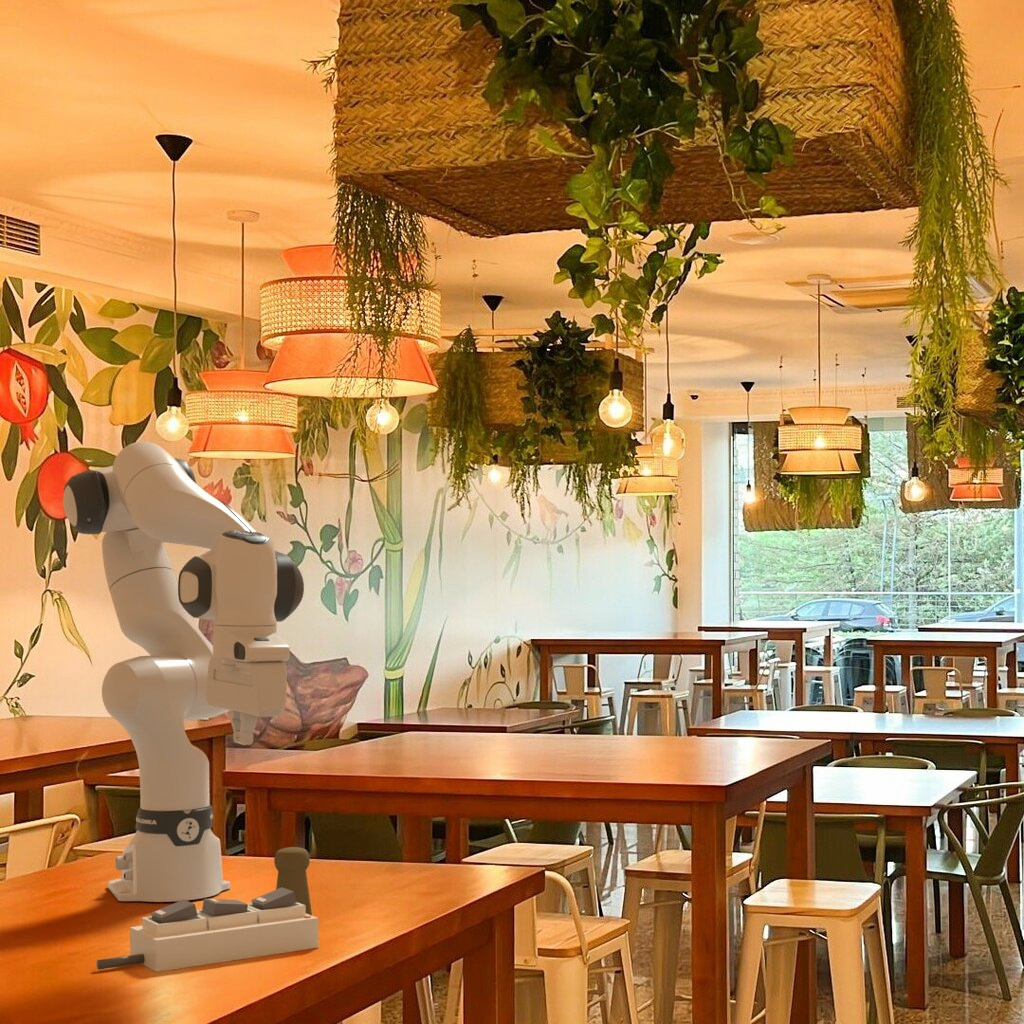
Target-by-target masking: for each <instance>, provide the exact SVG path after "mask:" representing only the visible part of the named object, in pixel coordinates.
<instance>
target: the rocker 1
mask: <svg viewBox="0 0 1024 1024" xmlns="http://www.w3.org/2000/svg"><path fill="white" fill-rule="evenodd" d="M151 916H152V920H153V921H155V922H157V923H159V924H162V923H170V922H177V921H185V920H188V919H191V918H193V917H195V916H198V914H197V907H196V904H195V903H194V902H190V900H181V901H175V902H174V903H171V904H169V905H167V906H163V907H162V908H160V909H157V910H154V911H152V912H151V913H150V917H151Z"/></svg>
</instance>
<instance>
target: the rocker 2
mask: <svg viewBox="0 0 1024 1024" xmlns="http://www.w3.org/2000/svg"><path fill="white" fill-rule="evenodd" d="M202 900H203V901H202V909H201V910H202V911H203V912H206V913H208V914H210V915H213V916H223V915H230V914H238V913H245V912H247V908H248V904H249V903H246V902H243V901H240V900H238V899H220V898H219V899H218V898H215V899H214V898H203V899H202Z"/></svg>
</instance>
